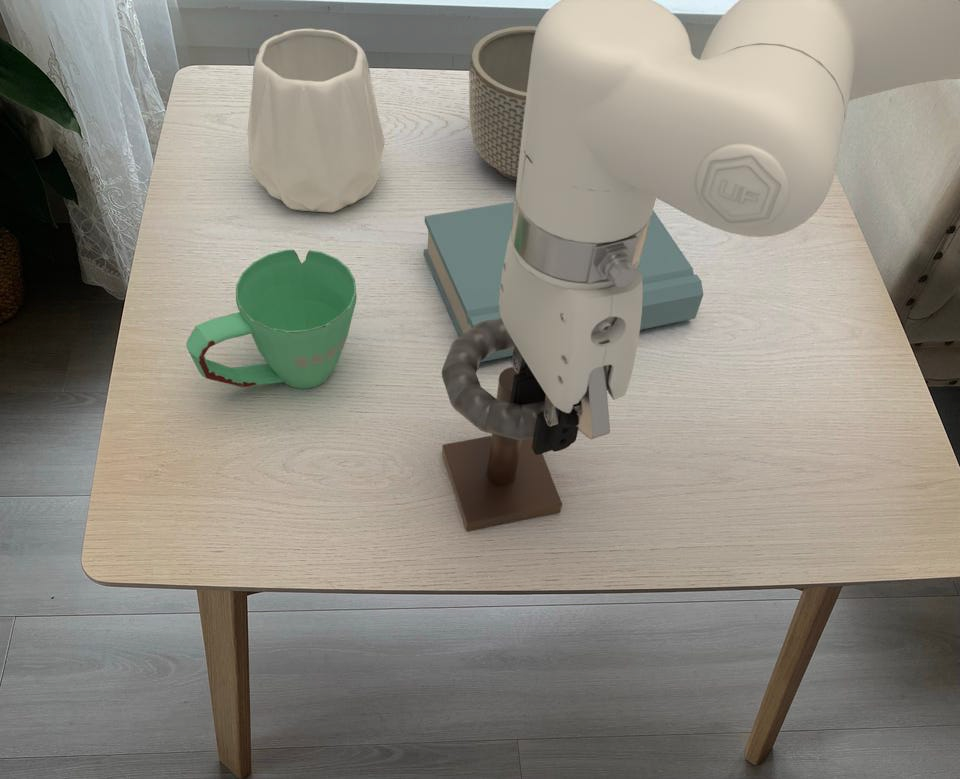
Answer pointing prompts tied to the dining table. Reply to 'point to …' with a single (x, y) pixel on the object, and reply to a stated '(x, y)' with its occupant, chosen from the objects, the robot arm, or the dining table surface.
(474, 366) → the segmented grey ring
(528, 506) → the post
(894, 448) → the dining table surface
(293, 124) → the vase
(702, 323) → the dining table surface
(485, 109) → the planter
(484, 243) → the book
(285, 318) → the mug
